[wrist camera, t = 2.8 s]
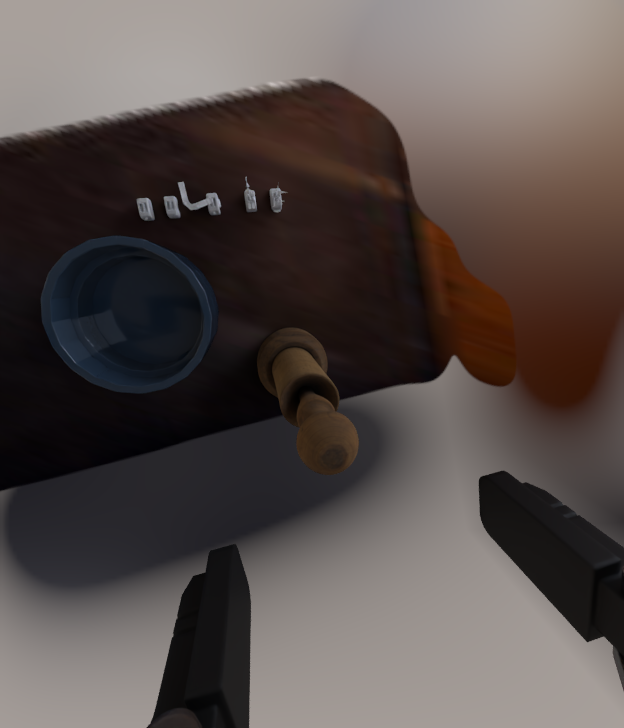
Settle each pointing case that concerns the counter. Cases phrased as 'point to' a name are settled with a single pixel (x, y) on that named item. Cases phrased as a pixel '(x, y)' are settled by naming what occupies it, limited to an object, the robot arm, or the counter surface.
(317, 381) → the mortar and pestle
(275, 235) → the counter surface
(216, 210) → the figurines set
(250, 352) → the counter surface
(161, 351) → the blue bowl
